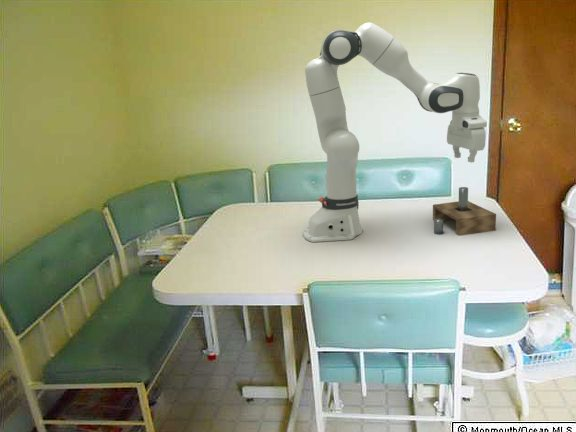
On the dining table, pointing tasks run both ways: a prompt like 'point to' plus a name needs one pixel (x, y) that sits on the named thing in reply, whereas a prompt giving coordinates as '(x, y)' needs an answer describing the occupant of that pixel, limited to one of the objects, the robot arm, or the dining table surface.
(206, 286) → the dining table surface
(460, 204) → the long pin
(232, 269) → the dining table surface
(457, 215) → the bridge
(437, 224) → the short pin
